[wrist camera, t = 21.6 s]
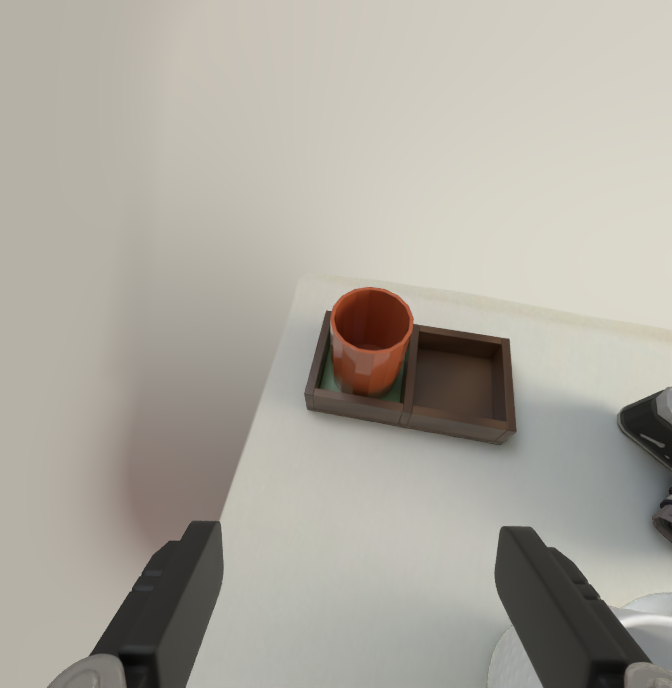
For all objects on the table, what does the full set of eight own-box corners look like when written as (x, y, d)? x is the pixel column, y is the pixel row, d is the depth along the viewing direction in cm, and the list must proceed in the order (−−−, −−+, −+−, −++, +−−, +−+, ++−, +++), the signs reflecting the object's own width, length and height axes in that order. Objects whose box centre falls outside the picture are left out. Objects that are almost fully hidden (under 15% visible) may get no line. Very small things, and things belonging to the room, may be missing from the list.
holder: (306, 409, 35) (304, 393, 32) (326, 330, 41) (326, 310, 38) (500, 445, 34) (516, 432, 31) (496, 357, 39) (509, 338, 36)
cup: (325, 395, 35) (323, 345, 28) (338, 339, 39) (339, 282, 31) (393, 407, 35) (409, 360, 27) (400, 349, 38) (416, 293, 31)
